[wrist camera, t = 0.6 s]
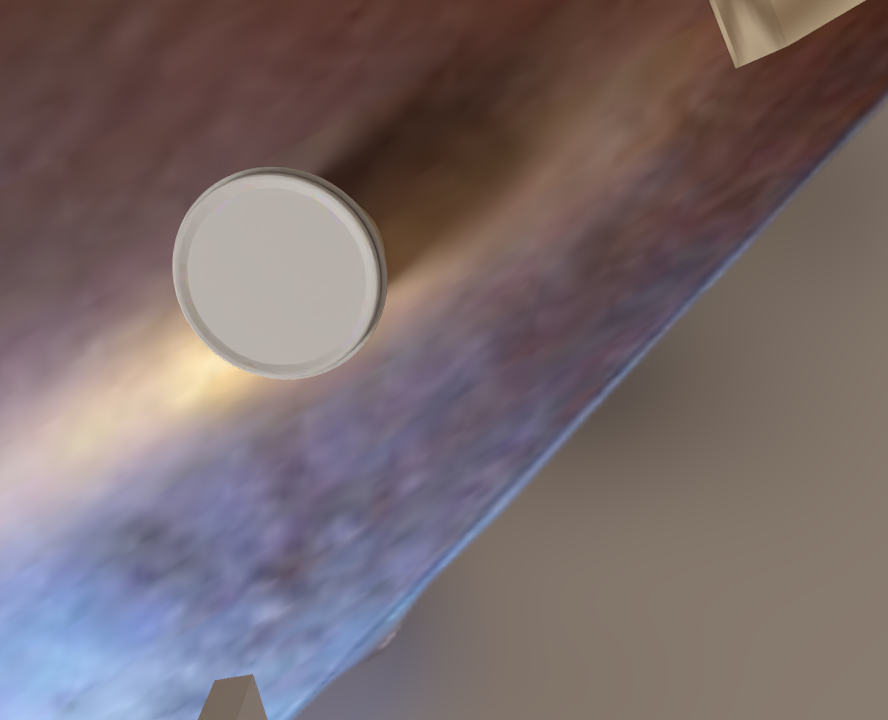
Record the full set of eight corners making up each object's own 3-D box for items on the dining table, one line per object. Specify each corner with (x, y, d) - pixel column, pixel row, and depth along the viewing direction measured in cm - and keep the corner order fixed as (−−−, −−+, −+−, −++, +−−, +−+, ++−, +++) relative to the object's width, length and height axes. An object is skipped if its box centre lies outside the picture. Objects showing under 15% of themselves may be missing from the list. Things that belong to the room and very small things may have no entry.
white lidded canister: (404, 187, 35) (394, 179, 23) (392, 334, 37) (377, 393, 26) (250, 169, 34) (162, 152, 23) (248, 320, 37) (167, 374, 25)
